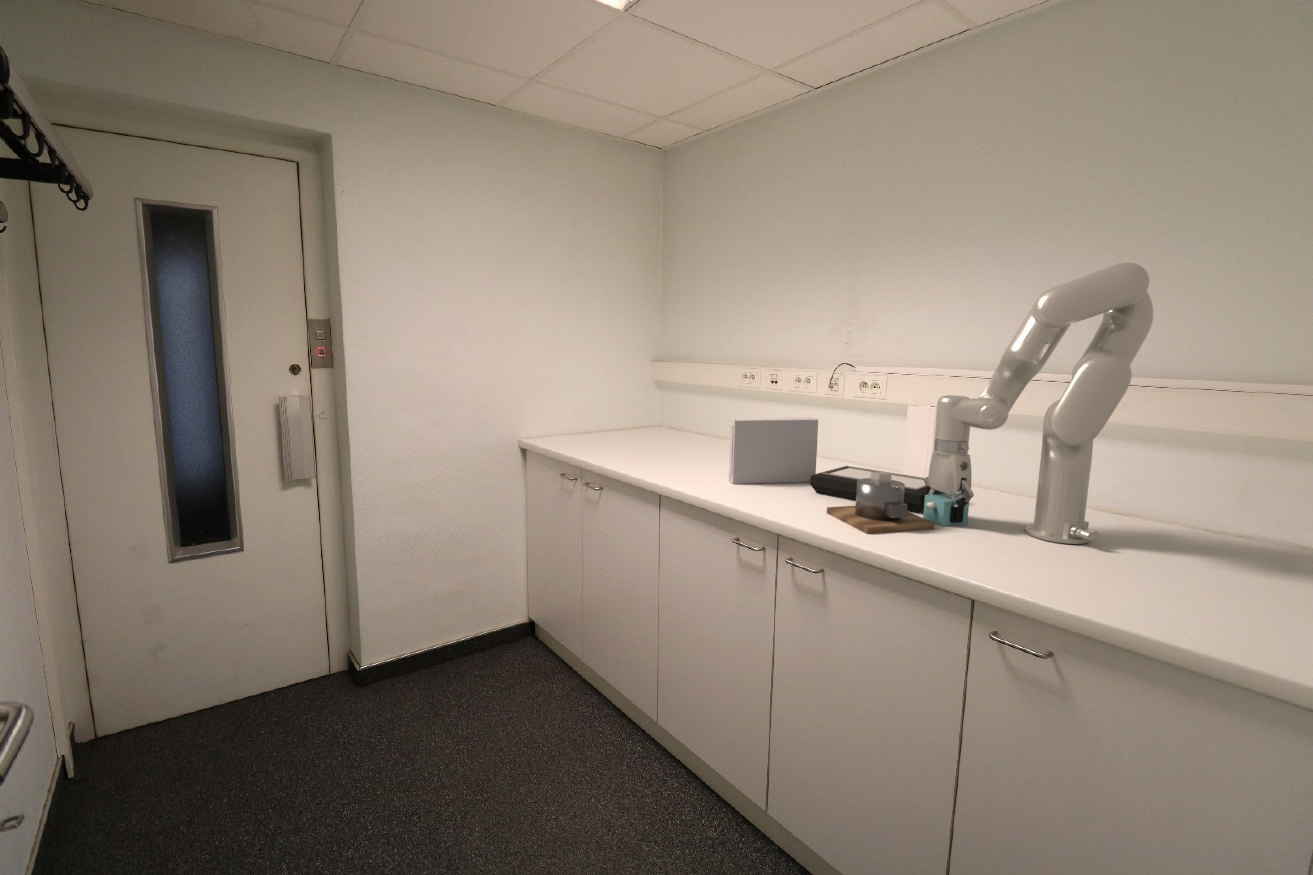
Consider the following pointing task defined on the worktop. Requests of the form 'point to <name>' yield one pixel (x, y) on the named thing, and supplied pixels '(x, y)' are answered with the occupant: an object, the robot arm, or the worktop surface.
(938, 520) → the block
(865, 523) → the mounting board
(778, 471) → the upright gray panel box
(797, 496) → the worktop surface
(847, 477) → the electronic device
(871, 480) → the motor
